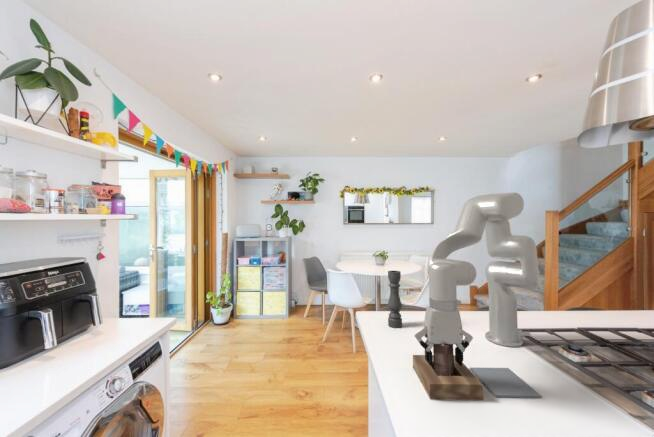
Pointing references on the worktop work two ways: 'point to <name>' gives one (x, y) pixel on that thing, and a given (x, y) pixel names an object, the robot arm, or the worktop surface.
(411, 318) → the worktop surface
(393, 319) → the candle holder
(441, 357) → the box
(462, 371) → the pocket block
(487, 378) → the mat
